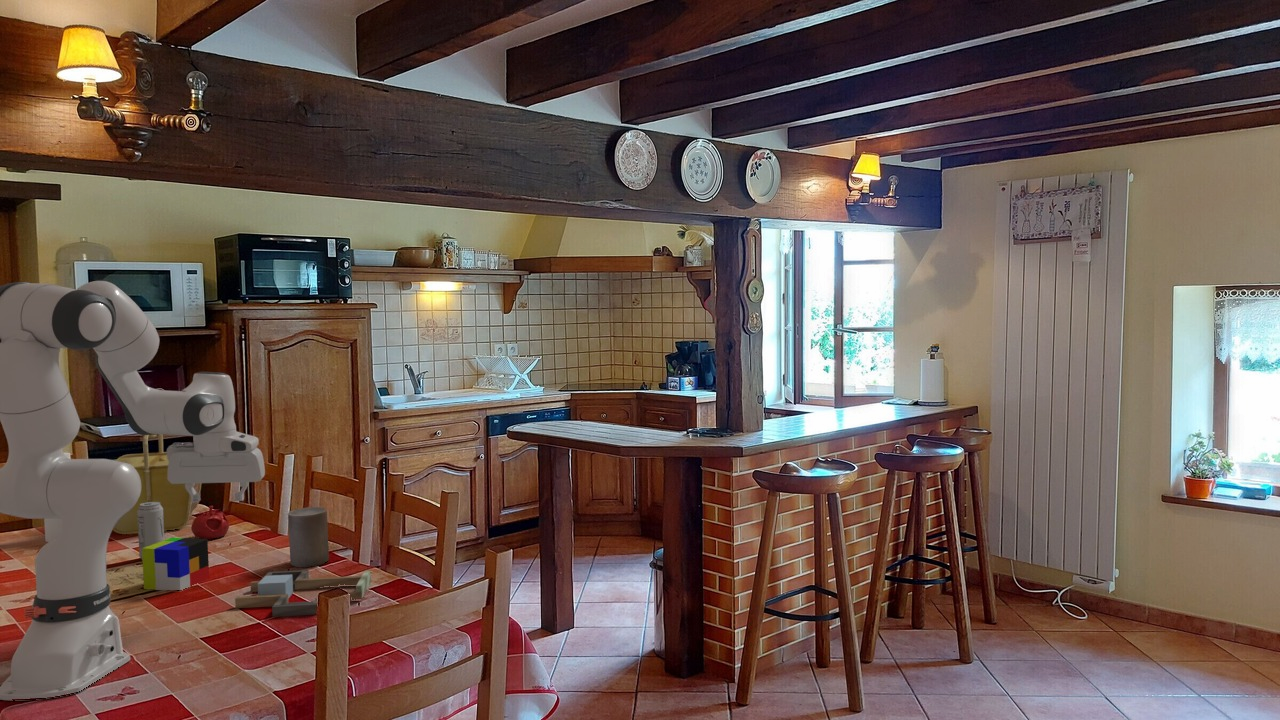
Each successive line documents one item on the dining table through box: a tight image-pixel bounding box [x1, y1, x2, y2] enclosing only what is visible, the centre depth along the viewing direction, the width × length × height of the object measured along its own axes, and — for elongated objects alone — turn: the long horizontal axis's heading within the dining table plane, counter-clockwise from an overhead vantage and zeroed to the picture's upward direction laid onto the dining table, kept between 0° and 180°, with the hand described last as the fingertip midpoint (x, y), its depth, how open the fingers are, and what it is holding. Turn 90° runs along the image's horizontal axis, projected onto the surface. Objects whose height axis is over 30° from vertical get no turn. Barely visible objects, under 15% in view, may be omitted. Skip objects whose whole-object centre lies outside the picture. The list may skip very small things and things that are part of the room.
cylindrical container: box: [43, 452, 72, 543], centre depth 255 cm, size 7×7×25 cm
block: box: [257, 575, 294, 599], centre depth 201 cm, size 6×6×4 cm
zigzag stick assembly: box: [234, 569, 372, 618], centre depth 202 cm, size 27×27×4 cm
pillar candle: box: [287, 505, 330, 568], centre depth 229 cm, size 10×10×15 cm
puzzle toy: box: [142, 536, 210, 591], centre depth 212 cm, size 10×10×10 cm
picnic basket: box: [112, 434, 203, 535], centre depth 273 cm, size 29×26×30 cm
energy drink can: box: [137, 502, 165, 562], centre depth 234 cm, size 6×6×15 cm
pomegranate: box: [191, 505, 230, 540], centre depth 256 cm, size 10×10×9 cm
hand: (218, 501), depth 199 cm, fingers open, 8 cm apart
